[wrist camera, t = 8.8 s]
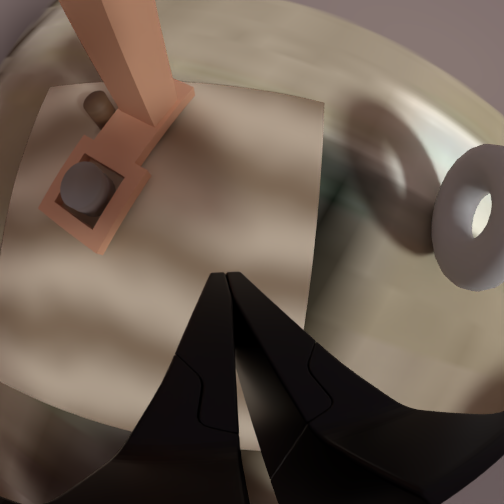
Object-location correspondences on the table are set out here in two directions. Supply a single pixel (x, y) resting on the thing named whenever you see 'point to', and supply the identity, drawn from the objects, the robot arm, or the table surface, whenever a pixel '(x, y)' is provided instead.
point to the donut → (471, 220)
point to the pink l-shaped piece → (120, 107)
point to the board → (152, 243)
